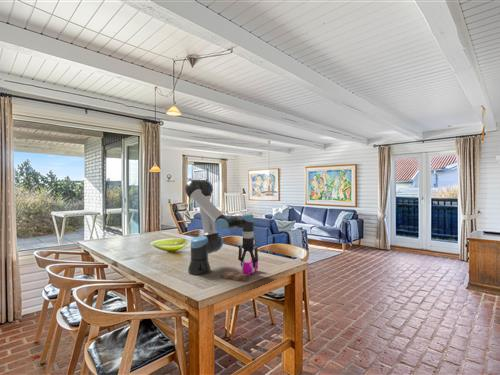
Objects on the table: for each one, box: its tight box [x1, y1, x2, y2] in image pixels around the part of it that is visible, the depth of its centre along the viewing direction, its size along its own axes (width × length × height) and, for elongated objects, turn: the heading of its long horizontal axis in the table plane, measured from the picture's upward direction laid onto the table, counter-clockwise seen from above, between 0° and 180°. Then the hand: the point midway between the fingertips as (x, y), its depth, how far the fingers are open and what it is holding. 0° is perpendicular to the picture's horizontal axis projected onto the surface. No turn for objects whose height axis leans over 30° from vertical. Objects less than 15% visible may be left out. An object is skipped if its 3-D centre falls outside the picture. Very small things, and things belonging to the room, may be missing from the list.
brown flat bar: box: [219, 270, 250, 282], centre depth 176 cm, size 17×7×2 cm, turn 66°
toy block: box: [242, 257, 259, 276], centre depth 186 cm, size 15×6×8 cm, turn 154°
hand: (248, 271), depth 185 cm, fingers closed on toy block, 6 cm apart
